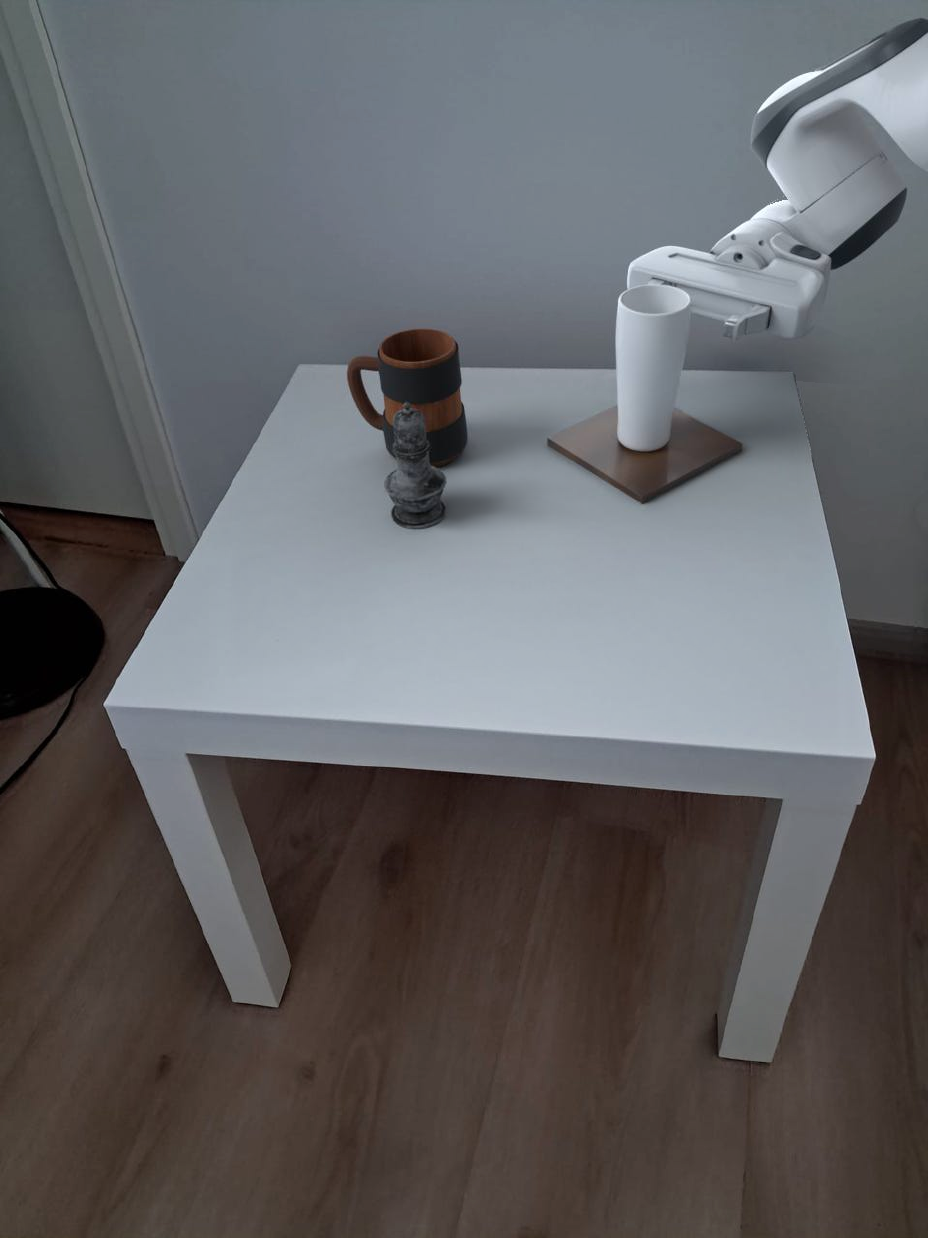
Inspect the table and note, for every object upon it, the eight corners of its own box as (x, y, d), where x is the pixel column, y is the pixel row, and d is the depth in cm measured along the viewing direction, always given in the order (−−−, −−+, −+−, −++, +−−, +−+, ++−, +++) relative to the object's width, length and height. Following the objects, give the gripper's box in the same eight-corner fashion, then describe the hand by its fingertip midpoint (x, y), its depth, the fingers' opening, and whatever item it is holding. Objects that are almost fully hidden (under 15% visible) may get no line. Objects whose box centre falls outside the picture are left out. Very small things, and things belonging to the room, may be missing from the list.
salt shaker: (384, 499, 92) (369, 390, 84) (443, 490, 93) (434, 381, 85) (392, 535, 88) (377, 423, 80) (453, 525, 88) (445, 413, 80)
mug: (369, 422, 103) (355, 321, 95) (475, 429, 101) (470, 326, 93) (345, 465, 97) (327, 362, 89) (457, 474, 95) (450, 368, 87)
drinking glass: (680, 425, 97) (696, 285, 87) (672, 461, 93) (688, 317, 83) (615, 419, 99) (623, 281, 89) (604, 454, 94) (611, 312, 84)
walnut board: (742, 450, 95) (743, 443, 94) (642, 504, 89) (642, 497, 89) (643, 398, 104) (644, 391, 103) (546, 444, 98) (546, 437, 97)
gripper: (666, 221, 104) (598, 266, 96) (847, 260, 94) (788, 313, 86) (661, 277, 108) (596, 324, 100) (834, 319, 98) (776, 375, 91)
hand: (686, 319), depth 93 cm, fingers open, 8 cm apart
